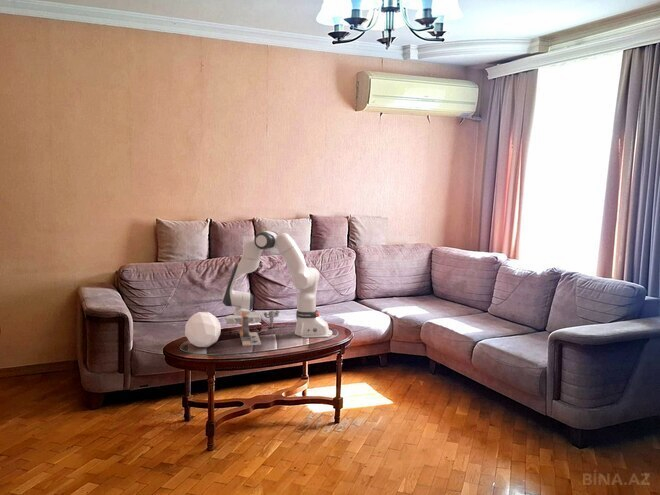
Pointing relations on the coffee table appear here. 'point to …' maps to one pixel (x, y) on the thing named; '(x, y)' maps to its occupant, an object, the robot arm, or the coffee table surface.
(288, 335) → the coffee table surface
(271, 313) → the mechanical component
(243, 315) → the post
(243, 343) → the dividers beam
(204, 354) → the coffee table surface
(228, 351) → the coffee table surface
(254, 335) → the bolt hole strip
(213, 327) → the geometric polyhedron
